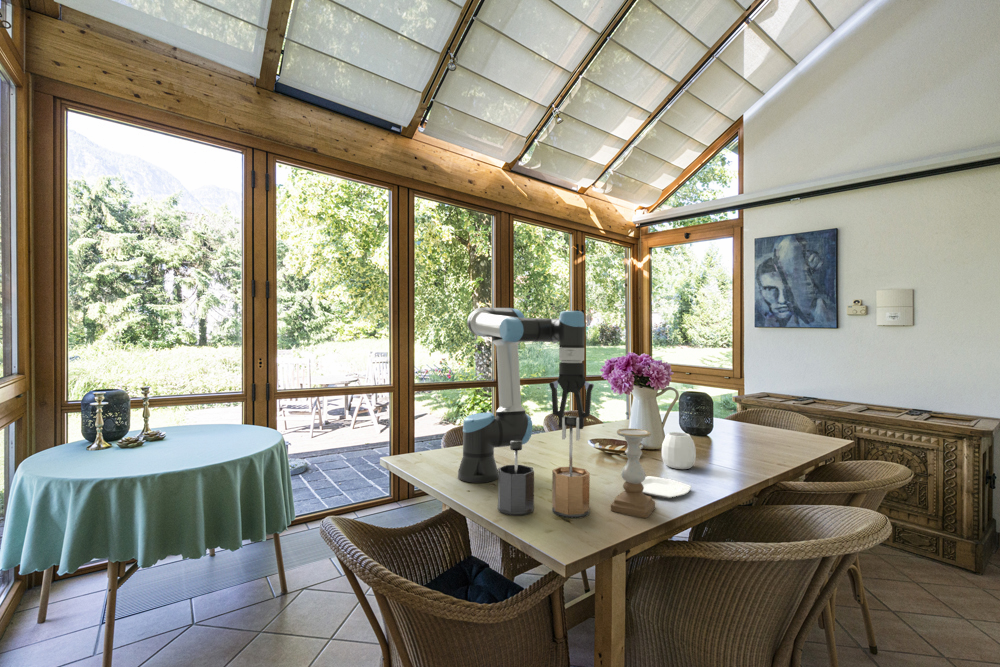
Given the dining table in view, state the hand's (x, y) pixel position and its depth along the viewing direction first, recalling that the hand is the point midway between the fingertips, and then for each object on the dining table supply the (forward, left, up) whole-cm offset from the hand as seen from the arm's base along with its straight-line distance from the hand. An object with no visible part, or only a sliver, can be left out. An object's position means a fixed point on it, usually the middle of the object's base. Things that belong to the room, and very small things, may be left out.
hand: (571, 438), depth 140 cm
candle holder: (+14, +14, -22) cm, 30 cm away
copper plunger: (0, 0, -12) cm, 12 cm away
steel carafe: (-14, -8, -22) cm, 27 cm away
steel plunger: (-14, -9, -20) cm, 26 cm away
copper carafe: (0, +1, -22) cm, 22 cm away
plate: (+14, +37, -22) cm, 46 cm away
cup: (+10, +71, -22) cm, 75 cm away
